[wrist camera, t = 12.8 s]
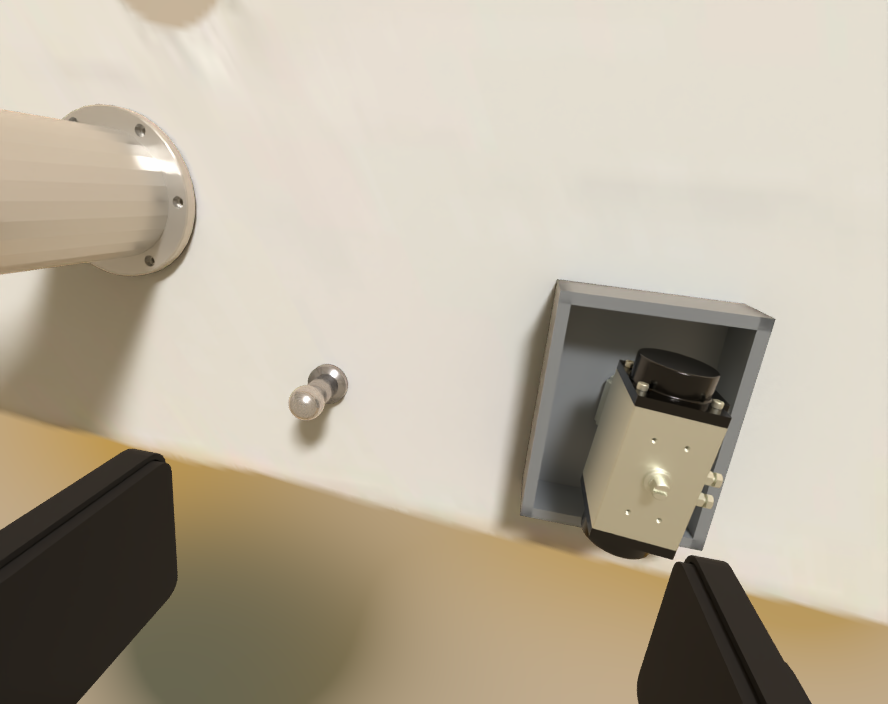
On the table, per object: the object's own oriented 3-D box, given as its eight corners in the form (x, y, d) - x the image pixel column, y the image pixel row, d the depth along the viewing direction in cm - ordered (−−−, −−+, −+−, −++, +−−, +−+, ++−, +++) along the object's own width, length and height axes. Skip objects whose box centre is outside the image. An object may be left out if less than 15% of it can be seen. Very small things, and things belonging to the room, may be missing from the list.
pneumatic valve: (569, 463, 39) (583, 571, 28) (615, 320, 35) (651, 376, 24) (641, 482, 38) (685, 599, 27) (695, 338, 35) (772, 405, 23)
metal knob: (310, 397, 42) (278, 425, 37) (311, 361, 41) (278, 385, 36) (346, 403, 42) (319, 433, 36) (348, 367, 41) (320, 392, 35)
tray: (521, 481, 41) (520, 515, 37) (557, 279, 36) (560, 290, 31) (683, 512, 39) (702, 550, 35) (744, 304, 34) (775, 319, 30)
